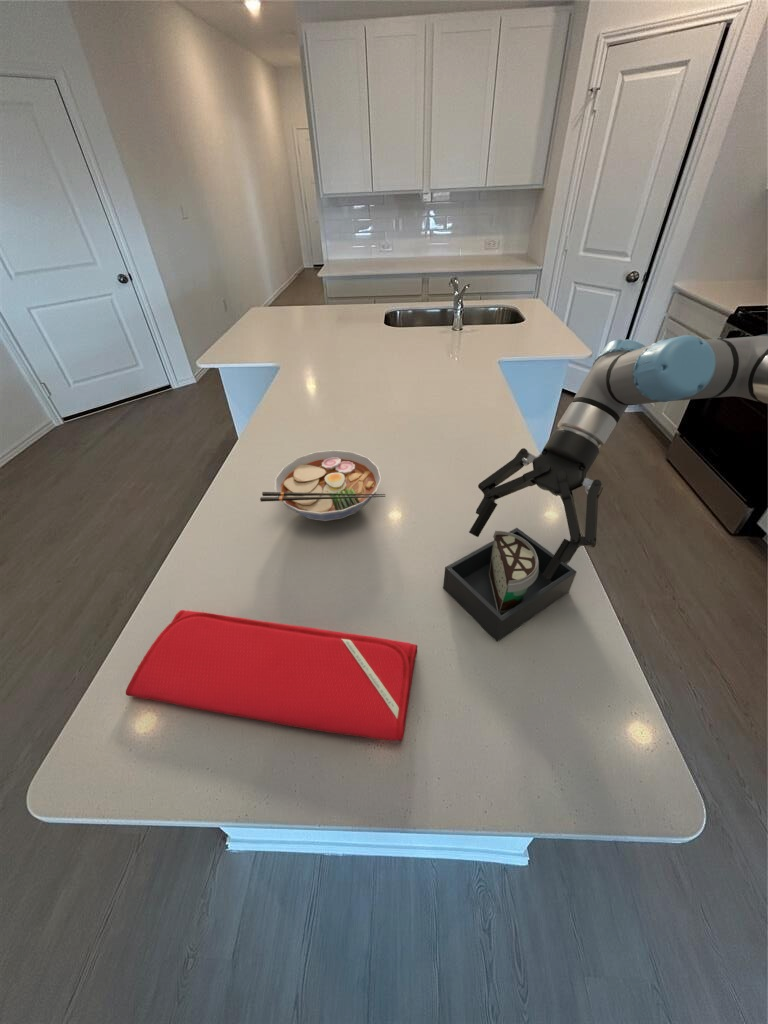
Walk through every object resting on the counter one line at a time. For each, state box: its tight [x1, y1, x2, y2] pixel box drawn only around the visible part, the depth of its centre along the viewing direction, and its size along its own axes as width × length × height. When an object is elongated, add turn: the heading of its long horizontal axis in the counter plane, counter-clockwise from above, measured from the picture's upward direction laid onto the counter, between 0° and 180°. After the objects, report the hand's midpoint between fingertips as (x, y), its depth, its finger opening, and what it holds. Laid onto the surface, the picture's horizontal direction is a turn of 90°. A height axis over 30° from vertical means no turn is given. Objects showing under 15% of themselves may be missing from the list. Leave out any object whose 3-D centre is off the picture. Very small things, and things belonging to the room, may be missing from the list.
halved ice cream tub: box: [489, 530, 539, 615], centre depth 74 cm, size 12×6×10 cm, turn 179°
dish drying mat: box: [125, 609, 418, 742], centre depth 66 cm, size 16×41×4 cm, turn 79°
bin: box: [442, 527, 577, 642], centre depth 77 cm, size 14×18×6 cm
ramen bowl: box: [259, 449, 386, 522], centre depth 96 cm, size 25×23×8 cm
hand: (507, 555), depth 70 cm, fingers open, 13 cm apart
